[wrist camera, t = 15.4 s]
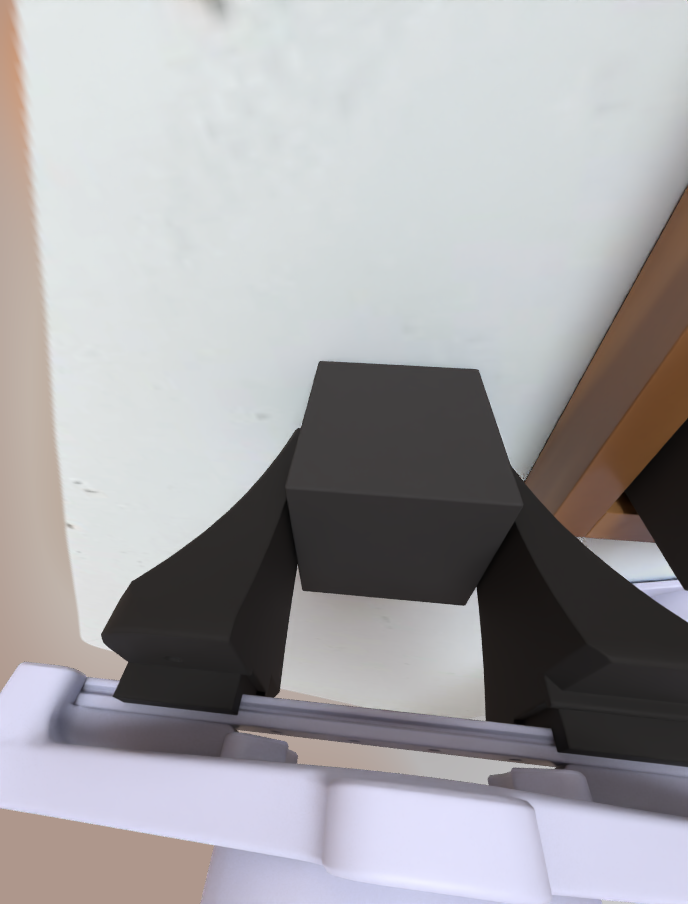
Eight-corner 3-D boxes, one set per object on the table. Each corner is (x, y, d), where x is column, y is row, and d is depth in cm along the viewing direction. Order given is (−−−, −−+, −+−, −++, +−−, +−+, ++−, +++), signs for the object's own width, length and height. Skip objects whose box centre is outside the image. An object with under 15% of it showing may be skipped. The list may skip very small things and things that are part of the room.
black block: (479, 368, 11) (525, 505, 8) (445, 476, 15) (465, 606, 11) (318, 360, 12) (284, 487, 8) (323, 467, 15) (301, 591, 12)
